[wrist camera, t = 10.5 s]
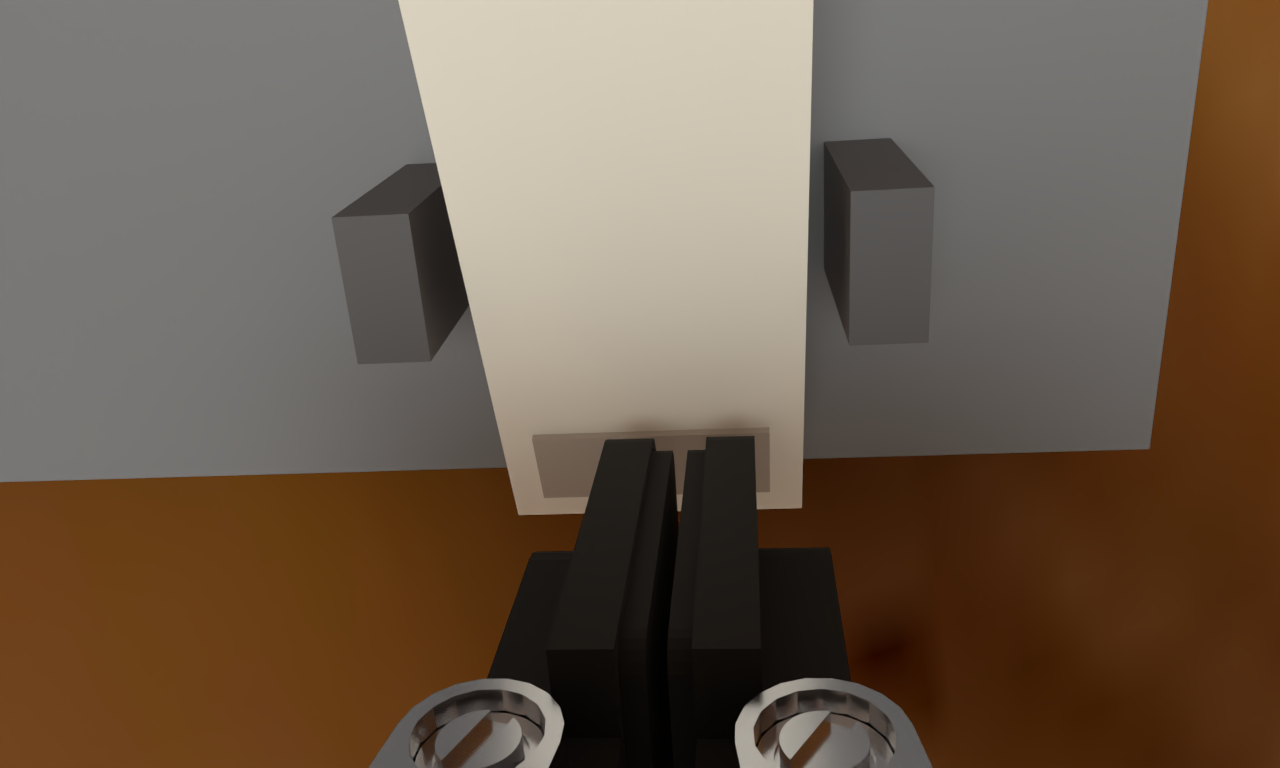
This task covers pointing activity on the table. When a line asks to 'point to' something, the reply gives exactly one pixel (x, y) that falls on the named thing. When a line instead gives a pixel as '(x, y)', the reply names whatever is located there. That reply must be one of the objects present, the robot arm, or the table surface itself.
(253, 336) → the switch panel
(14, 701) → the table surface
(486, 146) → the rocker switch
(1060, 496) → the table surface
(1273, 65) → the table surface
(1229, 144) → the table surface
